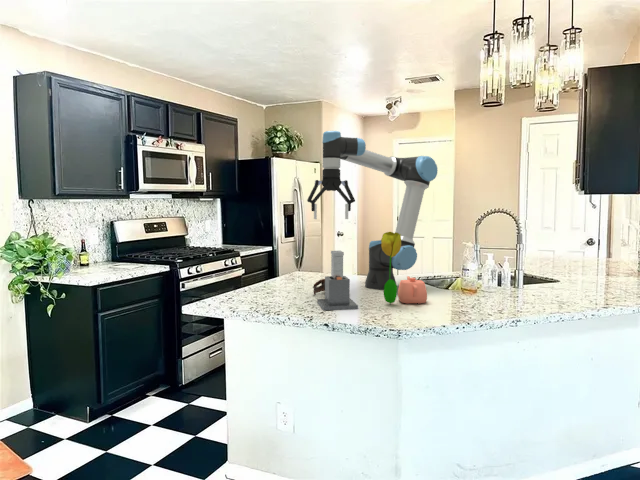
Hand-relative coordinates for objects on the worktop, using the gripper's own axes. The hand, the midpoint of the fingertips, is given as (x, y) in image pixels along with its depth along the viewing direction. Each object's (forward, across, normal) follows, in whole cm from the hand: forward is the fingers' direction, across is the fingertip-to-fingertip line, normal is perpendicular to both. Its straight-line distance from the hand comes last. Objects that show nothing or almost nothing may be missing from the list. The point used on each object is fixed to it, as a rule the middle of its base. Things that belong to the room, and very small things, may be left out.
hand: (331, 219), depth 204 cm
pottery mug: (+35, 0, -11) cm, 37 cm away
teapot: (+35, -34, +9) cm, 49 cm away
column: (+33, 0, +11) cm, 35 cm away
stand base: (+35, 0, +11) cm, 37 cm away
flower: (+35, -23, +13) cm, 44 cm away
